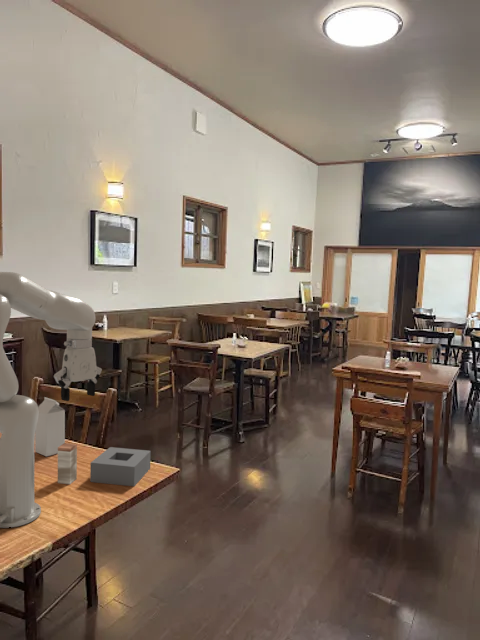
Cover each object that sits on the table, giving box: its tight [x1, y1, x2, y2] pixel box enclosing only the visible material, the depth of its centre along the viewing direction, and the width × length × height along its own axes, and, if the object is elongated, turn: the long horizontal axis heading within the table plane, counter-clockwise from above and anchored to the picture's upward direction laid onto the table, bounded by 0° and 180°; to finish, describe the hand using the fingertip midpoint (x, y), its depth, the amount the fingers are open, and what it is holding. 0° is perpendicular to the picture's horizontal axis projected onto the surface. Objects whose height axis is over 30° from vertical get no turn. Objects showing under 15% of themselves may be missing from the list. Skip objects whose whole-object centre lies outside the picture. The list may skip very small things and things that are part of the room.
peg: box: [57, 442, 78, 485], centre depth 146 cm, size 4×4×11 cm
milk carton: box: [34, 396, 66, 457], centre depth 169 cm, size 7×7×19 cm
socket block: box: [89, 446, 151, 487], centre depth 152 cm, size 14×14×6 cm
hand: (78, 397), depth 153 cm, fingers open, 9 cm apart
